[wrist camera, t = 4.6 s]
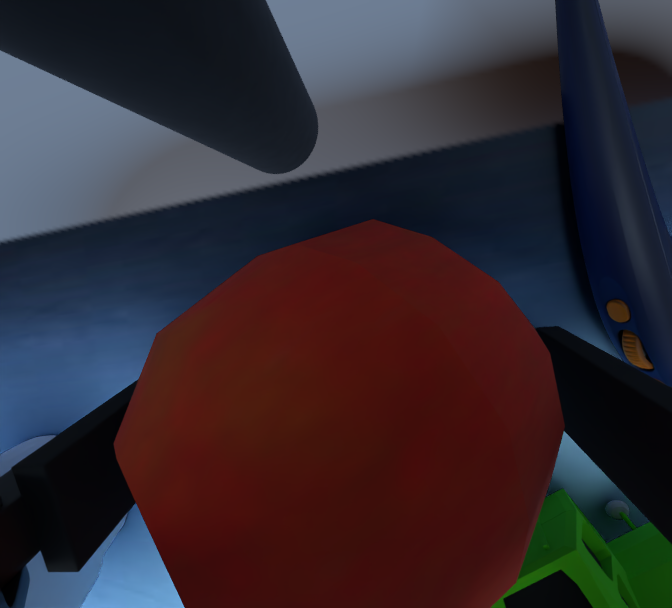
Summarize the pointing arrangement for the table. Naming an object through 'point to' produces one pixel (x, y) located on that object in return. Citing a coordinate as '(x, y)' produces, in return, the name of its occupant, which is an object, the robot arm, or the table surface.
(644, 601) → the toy tractor
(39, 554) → the cup
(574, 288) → the table surface
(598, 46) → the tapered navy handle
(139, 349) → the table surface
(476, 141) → the table surface
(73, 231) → the table surface
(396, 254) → the apple
